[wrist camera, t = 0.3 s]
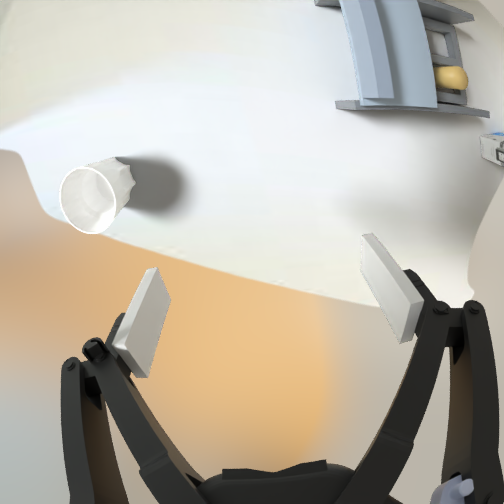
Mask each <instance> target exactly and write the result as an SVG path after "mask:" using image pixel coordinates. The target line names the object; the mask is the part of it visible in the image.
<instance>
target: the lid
mask: <svg viewBox="0 0 504 504" xmlns="http://www.w3.org/2000/svg"><path fill="white" fill-rule="evenodd" d="M339 2H340V5H341V9H342V13H343V17H344V20H345V24H346V29H347V33H348V37H349V42H350V46H351V51H352V56H353V61H354V67H355V73H356V79H357V85H358V92H359V99H360V105H362V106H369V105H389V106H417V107H432V108H438V107H437V96H436V87H435V79H434V72H433V66H432V60H431V54H430V49H429V44H428V40H427V35H426V31H425V27H424V23H423V19H422V16H421V12H420V9H419V6H418V2H417V0H339Z"/></svg>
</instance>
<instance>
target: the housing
mask: <svg viewBox="0 0 504 504" xmlns="http://www.w3.org/2000/svg"><path fill="white" fill-rule="evenodd" d="M314 2H315V6H341V5H340V2H339V0H314ZM417 2H418V6H419V9H420V12H421V16H422V19H423V23H424V27H425V29H429V30H433V31H436V32H440V33H444V35H445V39H446V44H447V48H448V53H449V57H445V56H440V55H436V54H431V53H430V54H431V60H432V63H434V64H439V65H444V66H459V67H461V68H462V69H463V67H462V61H461V55H460V50H459V45H458V41H457V36H456V32H455V28H454V26H452V25H453V24H458V23H463V22H469V21H474V17H473V15H472V14H470V13H467V12H465V11H463V10H460V9H458V8H455V7H452V6H450V5H447V4H444V3H441V2H438V1H435V0H417ZM436 96H437V101H441V102H450V103H457V104H464V105H467V100H466V90H465V89H464V90H459V89H454V94H451V93H445V92H437V91H436ZM335 104H336V108H337V109H350V110H377V109H390V110H421V111H436V112H447V113H457V114H465V115H472V116H479V117H485V118H490V115H489V111H485V110H480V109H475V108H470V107H464V106H457V105H450V104H441V103H437V107H438V108H432V107H417V106H389V105H369V106H362V105H360V100H346V101H335Z"/></svg>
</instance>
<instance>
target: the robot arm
mask: <svg viewBox="0 0 504 504" xmlns="http://www.w3.org/2000/svg"><path fill="white" fill-rule="evenodd" d="M361 273H362V275H363V276H364V278H365V280H366V281H367V283H368V285H369V287H370V289H371V290H372V292H373V294H374V296H375V298H376V299H377V301H378V303H379V305H380V307H381V309H382V310H383V312H384V314H385V316H386V318H387V320H388V322H389V324H390V326H391V328H392V330H393V332H394V334H395V335H396V338H397V340H398V342H399V344H401V343H404V342H408V341H411V340H412V338H413V336H414V333H416V336H417V337H418V339H417V342H416V344H415V347H414V350H413V353H412V356H411V359H410V361H409V364H408V367H407V369H406V372H405V375H404V377H403V379H402V382H401V384H400V386H399V389H398V391H397V394H396V396H395V398H394V400H393V402H392V404H391V407H390V409H389V411H388V413H387V415H386V417H385V419H384V421H383V423H382V425H381V427H380V429H379V430H378V432H377V434H376V436H375V438H374V440H373V441H372V443H371V445H370V447H369V449H368V450H367V452H366V454H365V455H364V457H363V458H362V460H361V461H360V463H359V465H358V466H357V468H356V469H355V471H354V470H352V469H350V468H347V467H345V466H342V465H338V464H327V463H326V460H319V461H315V462H308V463H301V464H298V465H296V466H292V467H290V468H287V469H284V470H281V471H278V472H265V471H259V470H252V469H223V470H222V474H219V475H216V476H213V477H211V478H209V479H207V480H206V481H205V480H204V479H203V478H202V477H201V476H200V475H199V474H198V473H197V472H196V471H195V470H194V469H193V468H192V467H191V466H190V464H189V463H188V462H187V461H186V459H185V458H184V457H183V456H182V454H181V453H180V452H179V451H178V449H177V448H176V447H175V445H174V444H173V443H172V441H171V440H170V438H169V437H168V436H167V434H166V433H165V431H164V430H163V429H162V427H161V426H160V424H159V423H158V421H157V420H156V418H155V417H154V415H153V414H152V412H151V411H150V409H149V408H148V406H147V404H146V403H145V401H144V399H143V398H142V396H141V395H140V393H139V391H138V389H137V388H136V386H135V384H134V383H133V381H132V379H131V378H130V374H131V372H132V373H133V374H134V375H135V377H137V378H148V376H149V373H150V368H151V365H152V361H153V357H154V354H155V350H156V347H157V344H158V341H159V337H160V334H161V330H162V327H163V324H164V320H165V317H166V314H167V311H168V308H169V305H170V301H171V299H170V296H169V294H168V292H167V290H166V287H165V285H164V282H163V280H162V277H161V275H160V272H159V270H158V268H157V267H156V268H150V269H147V271H146V272H145V274H144V276H143V278H142V280H141V282H140V284H139V286H138V288H137V291H136V292H135V295H134V297H133V299H132V301H131V303H130V305H129V307H128V309H127V311H126V313H121V314H120V316H119V317H118V318H117V319H116V320H115V323H114V325H113V327H112V329H111V332H110V334H109V336H108V338H107V340H106V342H105V344H104V343H103V341H102V340H101V339H100V338H98V337H96V338H92V339H90V340H88V341H87V342H86V343H85V345H84V346H83V348H82V353H83V354H84V355H85V357H86V358H87V359H88V360H87V361H84V362H80V360H79V359H78V358H76V357H71V358H69V359H67V360H66V361H65V362H64V364H63V365H62V370H61V426H62V440H63V452H64V460H65V468H66V474H67V481H68V486H69V491H70V504H129V502H128V498H127V495H126V492H125V489H124V485H123V482H122V478H121V475H120V471H119V468H118V464H117V460H116V456H115V451H114V447H113V443H112V438H111V434H110V428H109V422H108V417H107V410H106V404H105V401H106V403H107V405H108V408H109V410H110V412H111V414H112V416H113V418H114V420H115V422H116V424H117V426H118V428H119V430H120V432H121V434H122V436H123V438H124V440H125V442H126V444H127V445H128V447H129V449H130V451H131V453H132V454H133V456H134V458H135V459H136V461H137V463H138V464H139V466H140V470H139V474H140V476H141V477H142V479H143V481H144V482H145V484H146V485H147V487H148V488H149V489H150V491H151V493H152V494H153V496H154V497H155V499H156V500H157V501H158V503H159V504H403V503H401V502H399V501H398V500H396V499H394V498H393V497H391V496H390V495H389V493H390V491H391V490H392V488H393V486H394V484H395V483H396V481H397V479H398V477H399V475H400V474H401V472H402V470H403V468H404V466H405V464H406V462H407V460H408V458H409V456H410V454H411V451H412V449H413V445H414V443H413V442H414V439H415V436H416V434H417V432H418V429H419V427H420V424H421V422H422V419H423V417H424V414H425V411H426V409H427V406H428V403H429V400H430V397H431V394H432V391H433V388H434V385H435V382H436V378H437V375H438V371H439V367H440V364H441V360H442V356H443V352H444V348H445V347H449V352H450V406H449V420H448V431H447V440H446V448H445V454H444V461H443V468H442V479H441V485H440V486H438V487H437V488H436V490H435V491H434V492H433V494H432V497H431V502H430V504H503V502H504V481H503V475H502V469H501V464H500V460H499V455H498V446H499V399H498V385H497V375H496V366H495V359H494V352H493V347H492V341H491V336H490V331H489V326H488V321H487V317H486V313H485V309H484V307H483V306H482V305H481V303H479V302H477V301H474V300H469V301H467V302H465V304H464V306H463V308H450V306H449V305H448V304H447V303H445V302H443V301H437V300H436V298H435V297H434V296H433V294H432V293H431V292H430V290H429V289H428V288H427V286H426V285H425V284H424V282H423V281H421V278H420V277H419V276H418V275H417V273H415V272H413V271H412V270H410V269H408V270H402V269H401V268H400V266H399V265H398V264H397V263H396V261H395V260H394V259H393V257H392V256H391V255H390V254H389V252H388V251H387V250H386V249H385V247H384V246H383V245H382V244H381V242H380V241H379V240H378V239H377V238H376V236H375V235H374V234H373V233H371V234H364V235H362V251H361Z"/></svg>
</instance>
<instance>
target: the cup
mask: <svg viewBox="0 0 504 504" xmlns="http://www.w3.org/2000/svg"><path fill="white" fill-rule="evenodd" d="M135 184H136V182H135V181H134V180H133V178H132V175H131V172H130V165H125V164H123V163H121V162H119V161H117V160H116V158H115V157H112V158H109V159H106V160H103V161H100V162H96V163H92V164H88V165H85V166H81V167H78V168H75V169H74V170H72V171H70V172H69V173H68V174H67V175H66V176H65V177H64V179H63V181H62V183H61V187H60V191H59V200H60V205H61V209H62V211H63V213H64V216H65V217H66V218H67V220H68V221H69V223H70V224H71V225H73V226H74V227H75V228H76V229H78V230H80V231H81V232H84V233H88V234H96V233H99V232H102V231H104V230H105V229H106V228H108V227H109V225H110V224H111V223H112V221H113V220H114V219H115V217H116V216H117V214H118V213H119V212H120V211H121V209H122V208H123V207H124V206H125V204H126V203H127V202H128V201H129V199H130V192H131V189H132V187H133V186H134V185H135Z"/></svg>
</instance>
